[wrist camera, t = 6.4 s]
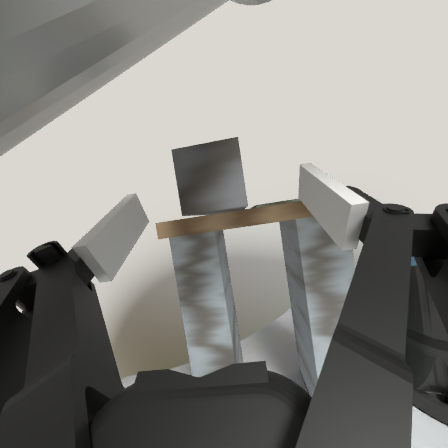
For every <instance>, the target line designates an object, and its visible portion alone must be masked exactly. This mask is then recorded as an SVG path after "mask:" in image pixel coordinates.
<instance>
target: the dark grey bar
mask: <svg viewBox="0 0 448 448" xmlns="http://www.w3.org/2000/svg"><path fill="white" fill-rule="evenodd" d="M172 156H173V162H174V168H175V174H176V180H177V186H178V192H179V198H180V205H181V211H182V216H190V215H213V214H219V213H226V212H232V211H238V210H244V209H245V208H246V207H247V206H248V204H247V196H246V190H245V183H244V176H243V169H242V162H241V156H240V149H239V143H238V137H235V138H230V139H225V140H220V141H214V142H209V143H205V144H199V145H193V146H189V147H183V148H178V149H173V150H172Z"/></svg>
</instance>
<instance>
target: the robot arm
mask: <svg viewBox="0 0 448 448" xmlns="http://www.w3.org/2000/svg"><path fill="white" fill-rule="evenodd" d="M227 1H228V0H0V156H1V155H3V154H4V153H6V152H7V151H9V150H10V149H12V148H13V147H14V146H16V145H17V144H19V143H20V142H22V141H23V140H25V139H26V138H28V137H29V136H31V135H32V134H34V133H35V132H36V131H38V130H39V129H41V128H42V127H44V126H45V125H47V124H48V123H50V122H51V121H53V120H54V119H55V118H57V117H58V116H60V115H61V114H63V113H64V112H66V111H67V110H69V109H70V108H72V107H73V106H75V105H76V104H78V103H79V102H80V101H82V100H83V99H85V98H86V97H88V96H89V95H91V94H92V93H94V92H95V91H97V90H98V89H100V88H101V87H102V86H104V85H105V84H107V83H108V82H110V81H111V80H113V79H114V78H115V77H117V76H118V75H120V74H121V73H123V72H124V71H126V70H127V69H129V68H130V67H131V66H133V65H135V64H136V63H138V62H139V61H141V60H142V59H143V58H145V57H146V56H148V55H149V54H151V53H152V52H153V51H155V50H157V49H158V48H160V47H161V46H162V45H164V44H165V43H167V42H168V41H170V40H171V39H173V38H174V37H176V36H177V35H179V34H180V33H181V32H183V31H184V30H186V29H187V28H189V27H190V26H192V25H193V24H195V23H196V22H197V21H199V20H200V19H202V18H203V17H205V16H206V15H208V14H209V13H211V12H212V11H214V10H215V9H217V8H218V7H220V6H221V5H222V4H224V3H225V2H227ZM231 1H234V2H236V3H239V4H244V5H259V4H262V3H265V2H269V1H271V0H231ZM299 199H300V200H301V201H302V203H303V204H304V205H305V206H306V208H307V209H308V210H309V211H310V213H311V214H312V215H313V216H314V217H315V219H316V220H317V221H318V222H319V224H320V225H321V226H322V227H323V229H324V230H325V231H326V232H327V233H328V235H329V236H330V237H331V238H332V240H333V241H334V242H335V243H336V244H337V246H338V247H339V248H340V249H341V251H343V250H350V249H356V248H357V245H358V242H359V240H360V241H361V242H363V247H362V250H361V253H360V256H359V260H358V262H357V265H356V268H355V272H354V275H353V278H352V281H351V284H350V287H349V290H348V293H347V296H346V299H345V302H344V305H343V308H342V311H341V314H340V317H339V320H338V323H337V326H336V328H335V330H334V333H333V336H332V339H331V342H330V345H329V348H328V351H327V354H326V357H325V360H324V363H323V366H322V369H321V372H320V375H319V378H318V381H317V384H316V387H315V390H314V393H313V396H312V397H311V396H310V395H309V394H308V393H307V392H306V391H305V390H304V389H303V388H301V387H300V386H299V385H297V384H296V383H295V382H293V381H292V380H290V379H288V378H286V377H285V376H282V375H280V374H277V373H275V372H271V371H267V368H266V362H265V361H261V362H249V363H237V364H231V365H229V366H226V367H224V368H221V369H219V370H216V371H214V372H212V373H209V374H207V375H204V376H202V377H194V376H191V375H187V374H183V373H180V372H176V371H172V370H169V369H166V370H153V371H141V372H138V374H137V377H136V380H135V383H134V384H132V385H131V386H129V387H127V388H125V389H124V387H123V385H122V382H121V379H120V376H119V372H118V369H117V365H116V361H115V358H114V354H113V351H112V347H111V343H110V340H109V336H108V333H107V329H106V325H105V322H104V318H103V315H102V311H101V307H100V304H99V300H98V296H97V293H96V289H95V286H94V284H93V283H92V282H91V280H92V278H93V277H94V276H95V277H96V278H97V279H98V280H99V282H107V281H112V280H113V278H114V277H115V275H116V274H117V272H118V270H119V269H120V267H121V266H122V264H123V263H124V261H125V259H126V258H127V256H128V254H129V253H130V251H131V250H132V248H133V247H134V245H135V243H136V242H137V240H138V239H139V237H140V235H141V234H142V232H143V231H144V229H145V227H146V226H147V224H148V223H149V220H148V218H147V216H146V214H145V212H144V210H143V207H142V205H141V204H140V201H139V199H138V197H137V195H136V194H130V195H127V196H126V197H124V198H123V199H122V200H121V201H120V202H119V203H118V204H117V205H116V206H115V207H114V208H113V209H112V210H111V211H110V212H109V213H108V214H107V215H106V216H105V217H104V218H102V219H101V220H100V221H99V222H98V223H97V224H96V225H95V226H94V227H93V228H92V229H91V230H90V231H89V232H88V233H87V234H86V235H85V236H84V237H83V238H81V240H79V241H78V242H77V243H76V244H75V245H74V246H73V247H72V249H71V250H70V251H69V252H68V253H67V252H66V251H65V250H64V249H63V248H62V246H61V245H60V244H59V243H58V242H57V241H51V242H47V243H45V244H42V245H41V246H38V247H37V248H35V249H33V250H32V251H31V252H30V253H28V255H27V257H28V258H29V259H30V260H31V261H32V262H33V263H34V264H35V265H36V266H37V267H38V268H39V269H38V270H36V271H33V272H29V271H28V270H27V269H26V268H24V267H23V266H22V267H16V268H14V269H11V270H7V271H6V272H4V273H2V274H1V275H0V448H411V430H412V404H413V405H415V406H416V407H418V408H419V409H421V410H422V411H424V412H425V413H427V414H429V415H430V416H432V417H434V418H435V419H437V420H439V421H441V422H443V423H445V424H447V425H448V204H441V205H438V206H437V207H436V208H435V210H434V212H433V214H414V212H413V210H411V209H410V208H408V207H405V206H402V205H398V204H382V203H380V202H378V201H377V200H375V199H374V198H372V197H370V196H368V195H367V194H366V193H363V192H362V191H361V190H359V189H358V188H354V187H351V186H344V185H343V184H341V183H340V182H338V181H337V180H335V179H334V178H332V177H331V176H329V175H328V174H326V173H324V172H323V171H322V170H320V169H319V168H317V167H316V166H314V165H313V164H311V163H307V164H302V165H300V176H299ZM16 305H17V306H18V307H19V308H21V309H22V310H23V311H22V313H21V312H19V311H18V309H17V308H16Z"/></svg>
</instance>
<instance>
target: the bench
mask: <svg viewBox="0 0 448 448" xmlns="http://www.w3.org/2000/svg"><path fill="white" fill-rule="evenodd" d="M273 222H280V230H281V237H282V243H283V251H284V258H285V266H286V272H287V280H288V287H289V294H290V301H291V309H292V316H293V323H294V330H295V337H296V344H297V352H298V359H299V366H300V371H301V374H302V377H303V379H304V382H305V384H306V387H307V390H308V392H309V395H310V396H311V397H312V396H313V393H314V390H315V387H316V384H317V381H318V378H319V375H320V372H321V369H322V366H323V363H324V360H325V357H326V354H327V351H328V348H329V345H330V342H331V339H332V336H333V333H334V330H335V328H336V326H337V323H338V320H339V317H340V314H341V311H342V308H343V305H344V302H345V299H346V296H347V293H348V290H349V287H350V284H351V281H352V278H353V275H354V272H355V264H354V256H353V249H350V250H343V251H341V249H340V248H339V247H338V246H337V244H336V243H335V242H334V241H333V240H332V238H331V237H330V236H329V235H328V233H327V232H326V231H325V230H324V229H323V227H322V226H321V225H320V224H319V222H318V221H317V220H316V219H315V217H314V216H313V215H312V214H311V213H310V211H309V210H308V209H307V208H306V206H305V205H304V204H303V203H302V201H301V200H300V199H294V200H287V201H281V202H274V203H268V204H262V205H256V206H254V207H252V208H251V209H245V210H238V211H232V212H226V213H219V214H213V215H206V216H200V217H193V218H187V219H180V220H174V221H167V222H161V223H156V229H157V235H158V239H163V238H169V240H170V246H171V252H172V258H173V264H174V270H175V276H176V282H177V288H178V294H179V300H180V306H181V312H182V318H183V324H184V330H185V337H186V342H187V349H188V355H189V360H190V367H191V373H192V376H194V377H202V376H204V375H207V374H209V373H212V372H214V371H216V370H219V369H221V368H224V367H226V366H229V365H231V364H237V363H243V357H242V351H241V344H240V338H239V331H238V325H237V318H236V312H235V305H234V299H233V293H232V285H231V279H230V272H229V266H228V259H227V253H226V246H225V240H224V234H223V230H225V229H232V228H239V227H245V226H253V225H259V224H266V223H273Z"/></svg>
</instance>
